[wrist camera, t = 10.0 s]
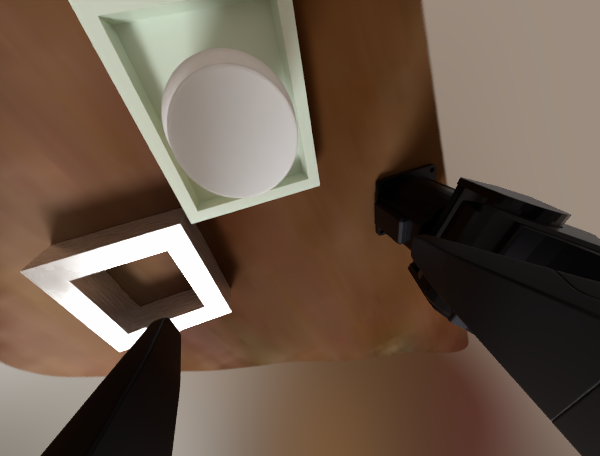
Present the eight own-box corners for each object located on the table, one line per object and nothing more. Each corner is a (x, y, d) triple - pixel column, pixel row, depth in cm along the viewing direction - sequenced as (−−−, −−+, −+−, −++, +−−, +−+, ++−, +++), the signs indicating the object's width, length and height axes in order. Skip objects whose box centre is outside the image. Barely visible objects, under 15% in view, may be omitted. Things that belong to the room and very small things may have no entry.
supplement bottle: (178, 60, 13) (100, 7, 5) (271, 70, 14) (328, 41, 6) (194, 156, 16) (161, 222, 8) (271, 156, 17) (311, 212, 9)
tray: (276, -19, 13) (286, -40, 11) (310, 175, 20) (320, 185, 18) (93, 12, 12) (65, -6, 10) (195, 209, 18) (191, 224, 16)
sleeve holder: (186, 205, 18) (180, 223, 15) (230, 288, 23) (231, 311, 21) (50, 245, 17) (19, 271, 14) (131, 323, 22) (119, 352, 20)
